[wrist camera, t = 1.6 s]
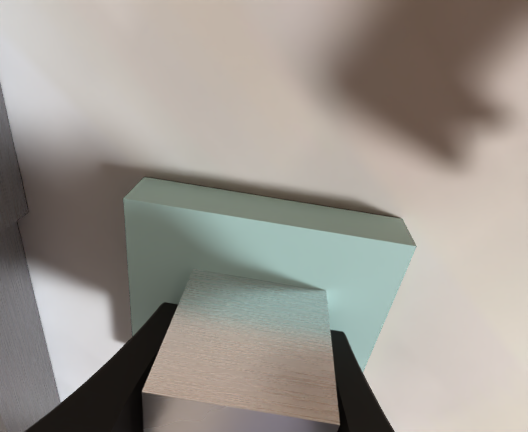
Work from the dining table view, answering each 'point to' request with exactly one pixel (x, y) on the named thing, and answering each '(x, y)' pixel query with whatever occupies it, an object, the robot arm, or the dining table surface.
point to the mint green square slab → (264, 251)
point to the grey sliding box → (19, 308)
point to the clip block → (244, 360)
